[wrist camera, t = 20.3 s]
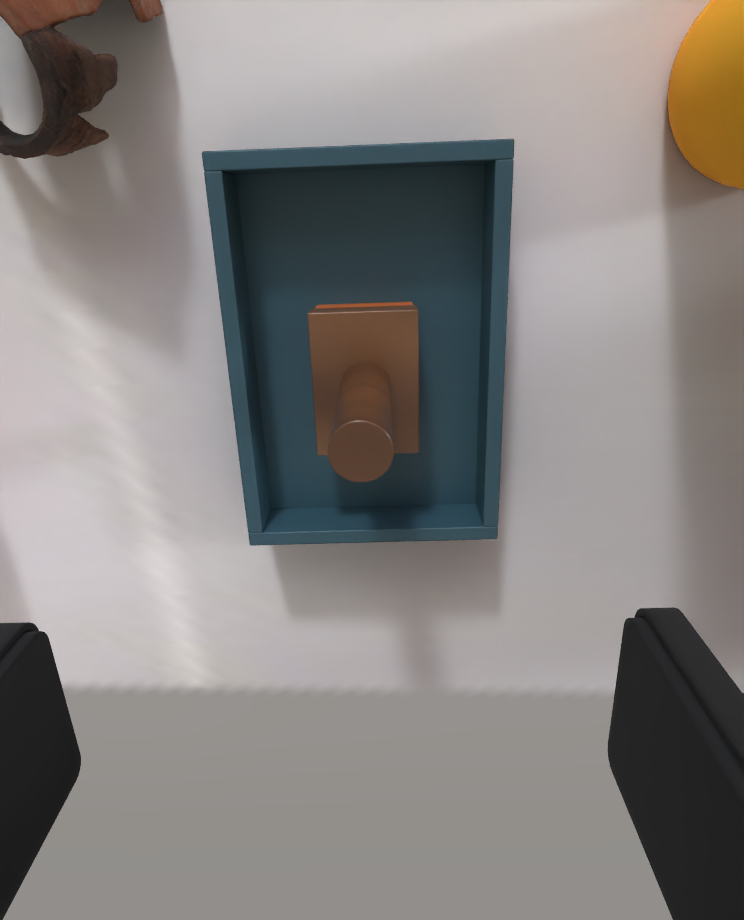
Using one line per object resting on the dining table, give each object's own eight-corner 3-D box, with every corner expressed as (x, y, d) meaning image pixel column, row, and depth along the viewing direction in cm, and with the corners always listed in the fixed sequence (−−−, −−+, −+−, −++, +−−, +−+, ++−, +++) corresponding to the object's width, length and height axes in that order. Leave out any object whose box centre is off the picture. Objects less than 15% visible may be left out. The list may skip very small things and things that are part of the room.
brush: (314, 302, 33) (278, 354, 21) (414, 299, 33) (433, 349, 21) (323, 433, 35) (295, 543, 24) (415, 430, 35) (433, 539, 24)
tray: (222, 158, 31) (201, 151, 28) (498, 146, 31) (514, 138, 27) (262, 513, 38) (249, 546, 35) (485, 507, 38) (497, 539, 34)
